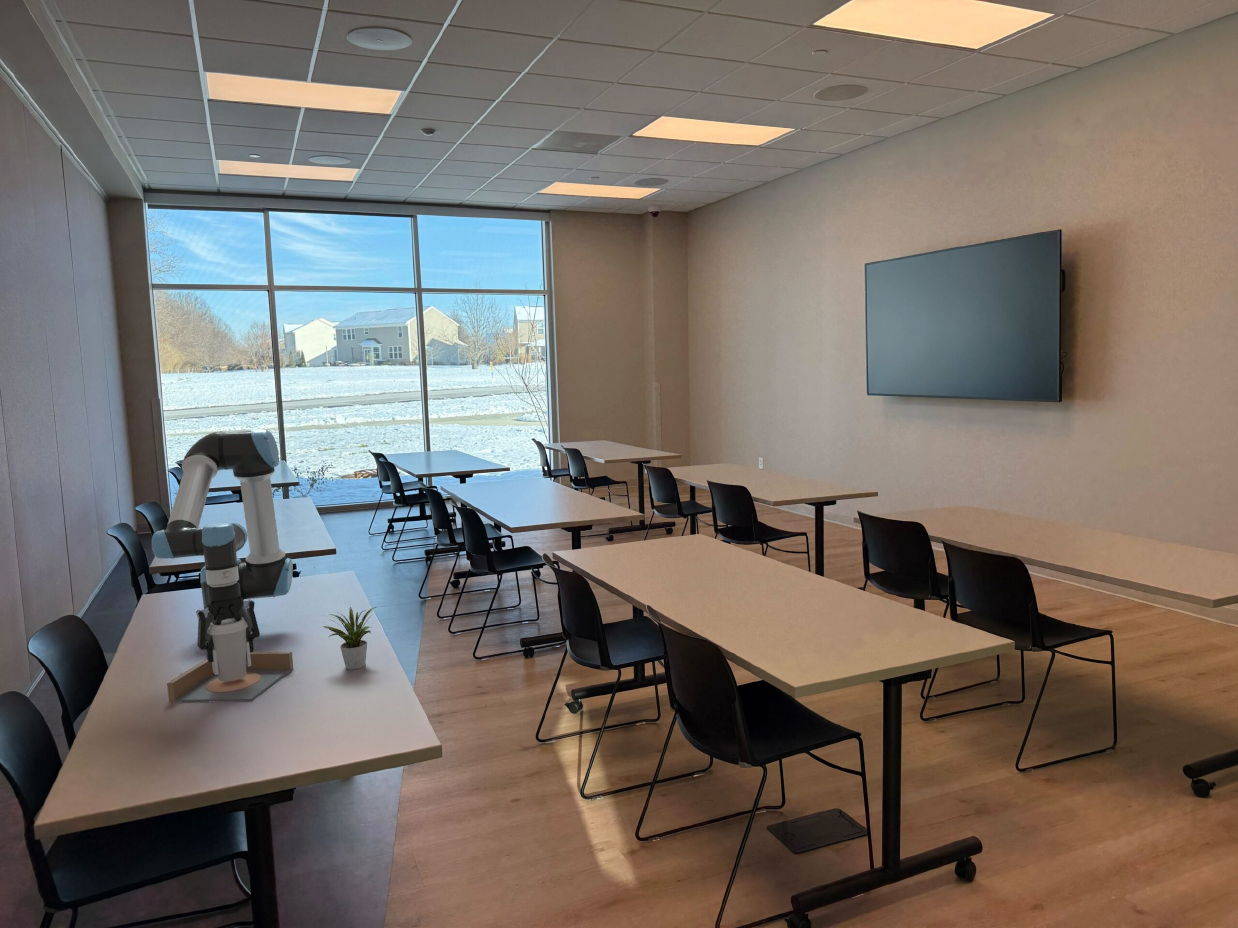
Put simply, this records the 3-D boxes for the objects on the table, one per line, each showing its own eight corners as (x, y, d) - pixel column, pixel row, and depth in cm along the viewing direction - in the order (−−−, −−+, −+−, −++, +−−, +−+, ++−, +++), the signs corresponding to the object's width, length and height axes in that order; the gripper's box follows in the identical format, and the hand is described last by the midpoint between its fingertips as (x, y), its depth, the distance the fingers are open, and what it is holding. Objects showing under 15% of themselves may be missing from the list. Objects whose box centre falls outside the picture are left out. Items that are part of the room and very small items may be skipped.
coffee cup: (211, 686, 207) (205, 629, 205) (213, 674, 215) (207, 619, 214) (252, 679, 210) (246, 622, 209) (253, 667, 219) (247, 613, 217)
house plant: (363, 652, 234) (359, 596, 232) (395, 660, 226) (390, 602, 224) (320, 668, 223) (315, 610, 221) (352, 677, 215) (346, 617, 213)
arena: (218, 670, 225) (216, 652, 224) (293, 668, 223) (291, 651, 222) (169, 702, 203) (166, 682, 203) (251, 700, 201) (249, 681, 201)
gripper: (183, 594, 201) (193, 683, 203) (268, 577, 214) (276, 662, 216) (176, 588, 207) (186, 675, 209) (259, 573, 220) (267, 655, 222)
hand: (232, 668), depth 213 cm, fingers closed on coffee cup, 7 cm apart
